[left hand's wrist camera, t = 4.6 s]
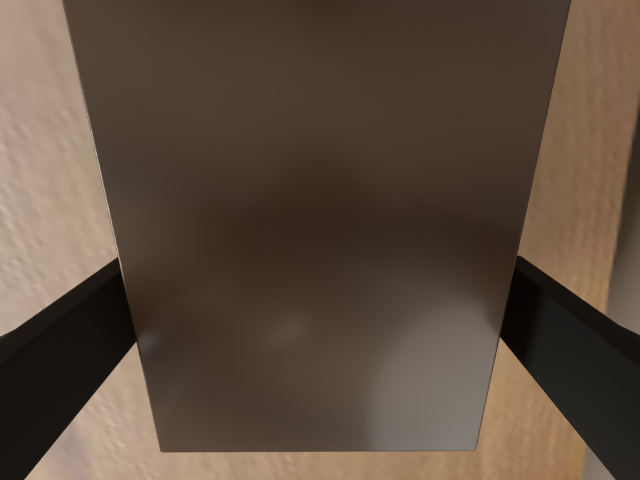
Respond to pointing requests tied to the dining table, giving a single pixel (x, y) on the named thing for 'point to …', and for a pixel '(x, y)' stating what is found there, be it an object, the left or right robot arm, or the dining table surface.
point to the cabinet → (317, 208)
